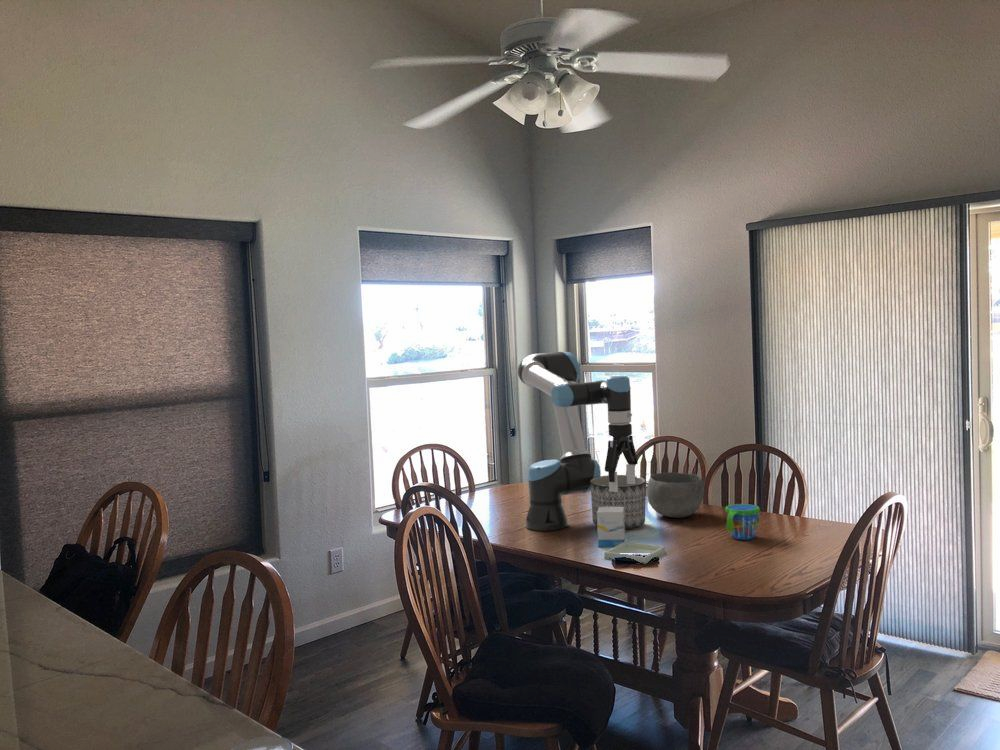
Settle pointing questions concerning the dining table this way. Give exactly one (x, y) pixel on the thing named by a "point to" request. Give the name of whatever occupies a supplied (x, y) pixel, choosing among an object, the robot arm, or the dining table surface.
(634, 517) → the planter
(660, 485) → the bowl
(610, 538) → the ink box
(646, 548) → the tray
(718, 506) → the dining table surface
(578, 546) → the dining table surface
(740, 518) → the snack cup
